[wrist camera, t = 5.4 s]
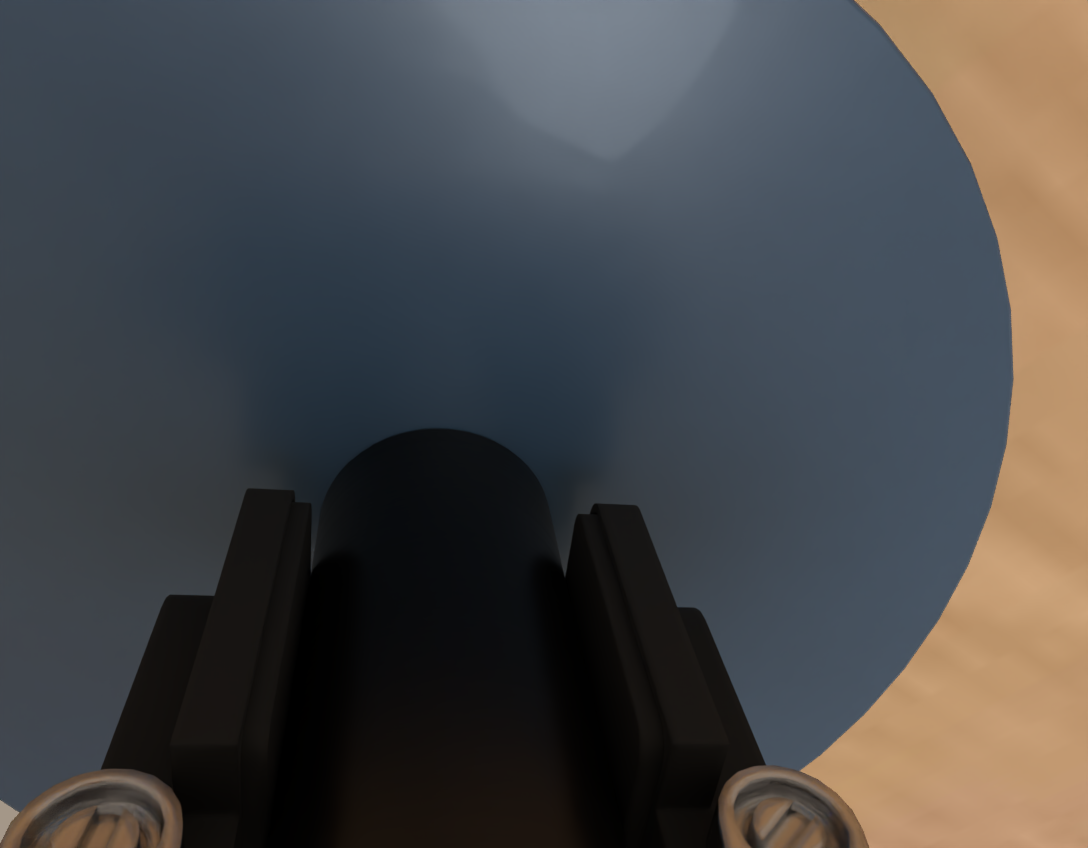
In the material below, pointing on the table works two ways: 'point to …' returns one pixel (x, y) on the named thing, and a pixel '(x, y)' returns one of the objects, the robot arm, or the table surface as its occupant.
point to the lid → (481, 372)
